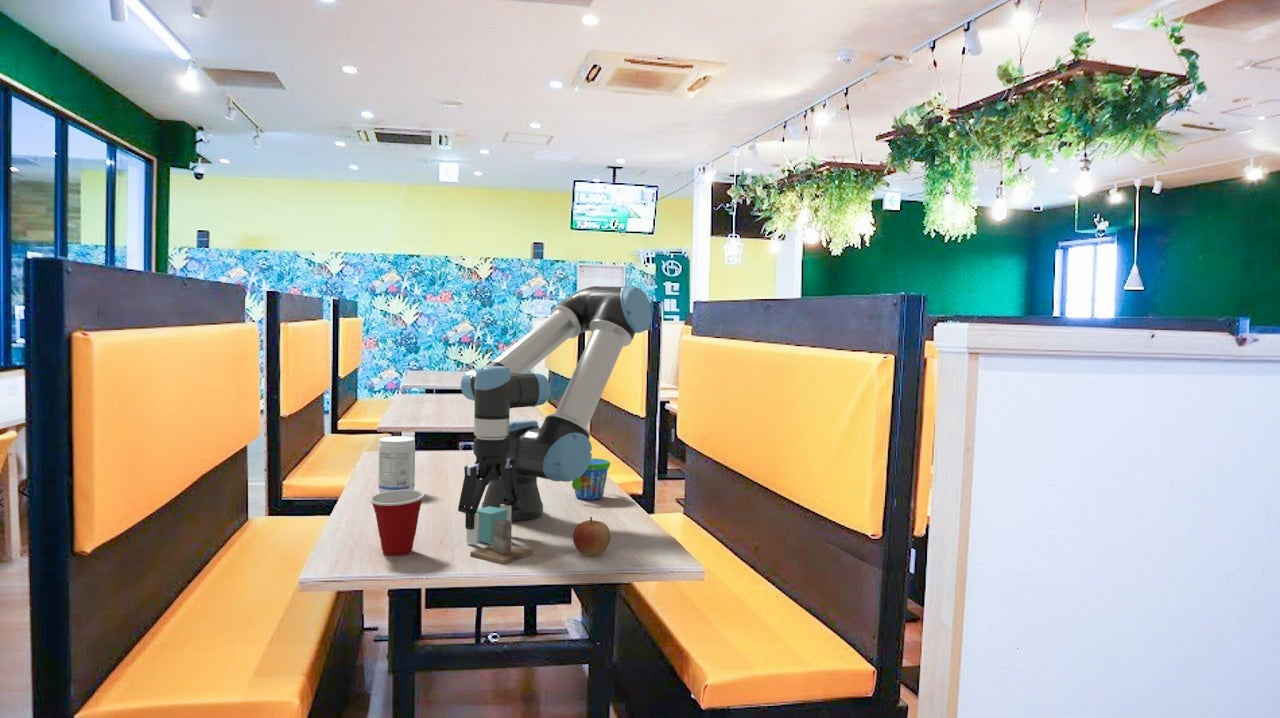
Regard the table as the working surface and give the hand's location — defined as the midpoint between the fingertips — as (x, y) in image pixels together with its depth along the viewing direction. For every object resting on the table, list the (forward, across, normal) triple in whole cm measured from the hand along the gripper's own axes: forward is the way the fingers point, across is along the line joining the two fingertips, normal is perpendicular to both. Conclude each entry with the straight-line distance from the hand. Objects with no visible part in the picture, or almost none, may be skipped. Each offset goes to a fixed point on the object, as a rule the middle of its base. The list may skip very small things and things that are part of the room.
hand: (489, 538), depth 184 cm
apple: (+1, -5, +24) cm, 25 cm away
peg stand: (0, +7, +10) cm, 12 cm away
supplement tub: (+1, -20, -53) cm, 57 cm away
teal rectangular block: (0, 0, 0) cm, 0 cm away
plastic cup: (0, +19, -8) cm, 21 cm away
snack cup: (+1, -49, -9) cm, 50 cm away
